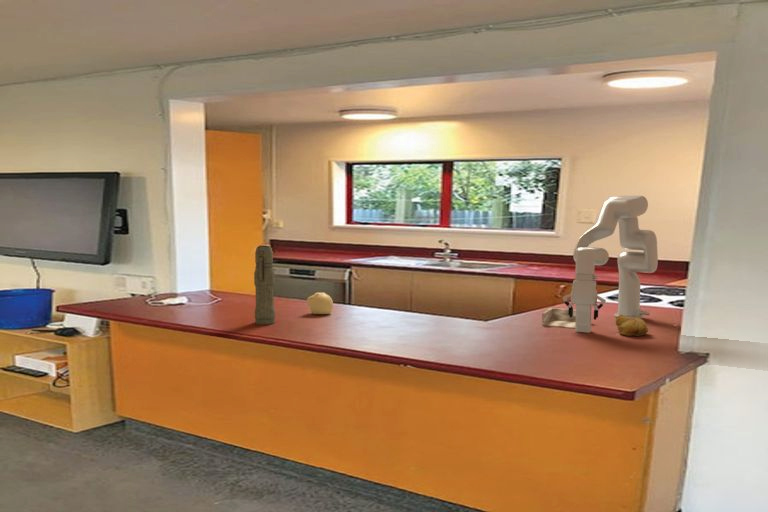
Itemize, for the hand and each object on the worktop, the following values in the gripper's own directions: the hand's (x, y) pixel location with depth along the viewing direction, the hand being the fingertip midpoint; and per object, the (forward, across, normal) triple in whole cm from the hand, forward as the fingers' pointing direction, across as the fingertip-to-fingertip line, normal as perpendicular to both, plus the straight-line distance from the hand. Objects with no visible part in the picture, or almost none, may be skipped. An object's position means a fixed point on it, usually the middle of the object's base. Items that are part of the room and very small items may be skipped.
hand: (582, 318), depth 235 cm
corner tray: (+6, +9, -12) cm, 16 cm away
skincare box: (+6, 0, 0) cm, 6 cm away
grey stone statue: (+7, +129, +52) cm, 139 cm away
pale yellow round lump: (+7, +120, +20) cm, 122 cm away
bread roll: (+6, -20, -4) cm, 21 cm away
